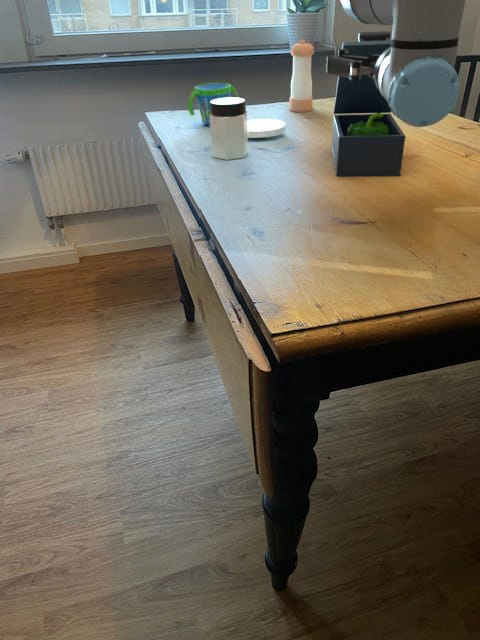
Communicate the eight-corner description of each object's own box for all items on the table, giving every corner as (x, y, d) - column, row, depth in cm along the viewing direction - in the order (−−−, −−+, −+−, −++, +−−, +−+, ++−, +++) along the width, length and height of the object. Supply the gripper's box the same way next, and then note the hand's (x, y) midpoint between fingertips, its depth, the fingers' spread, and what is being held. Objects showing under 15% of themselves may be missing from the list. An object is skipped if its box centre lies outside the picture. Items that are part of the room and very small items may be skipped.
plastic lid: (275, 126, 141) (275, 117, 140) (292, 138, 130) (292, 128, 128) (227, 131, 138) (227, 122, 137) (240, 144, 127) (240, 133, 126)
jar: (242, 148, 124) (240, 95, 117) (253, 156, 118) (252, 101, 111) (207, 152, 122) (203, 99, 115) (217, 161, 115) (213, 106, 109)
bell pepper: (342, 167, 105) (346, 117, 99) (347, 156, 111) (351, 108, 106) (383, 170, 103) (389, 119, 97) (386, 158, 109) (392, 109, 103)
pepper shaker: (310, 106, 161) (312, 38, 151) (314, 111, 155) (317, 40, 144) (287, 107, 161) (288, 39, 150) (291, 112, 155) (292, 42, 144)
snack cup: (197, 131, 140) (193, 91, 135) (184, 123, 148) (180, 86, 143) (247, 123, 146) (245, 85, 140) (231, 116, 154) (230, 80, 148)
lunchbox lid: (412, 43, 94) (411, 19, 95) (342, 45, 95) (342, 22, 96) (390, 113, 114) (390, 92, 115) (333, 114, 115) (333, 93, 116)
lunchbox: (400, 175, 102) (405, 135, 98) (336, 176, 103) (339, 136, 99) (386, 148, 118) (390, 113, 114) (331, 149, 120) (333, 114, 115)
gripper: (313, 106, 73) (310, 82, 91) (492, 101, 70) (454, 76, 88) (315, 48, 69) (312, 34, 86) (505, 40, 66) (462, 27, 84)
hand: (383, 55), depth 87 cm, fingers open, 13 cm apart
